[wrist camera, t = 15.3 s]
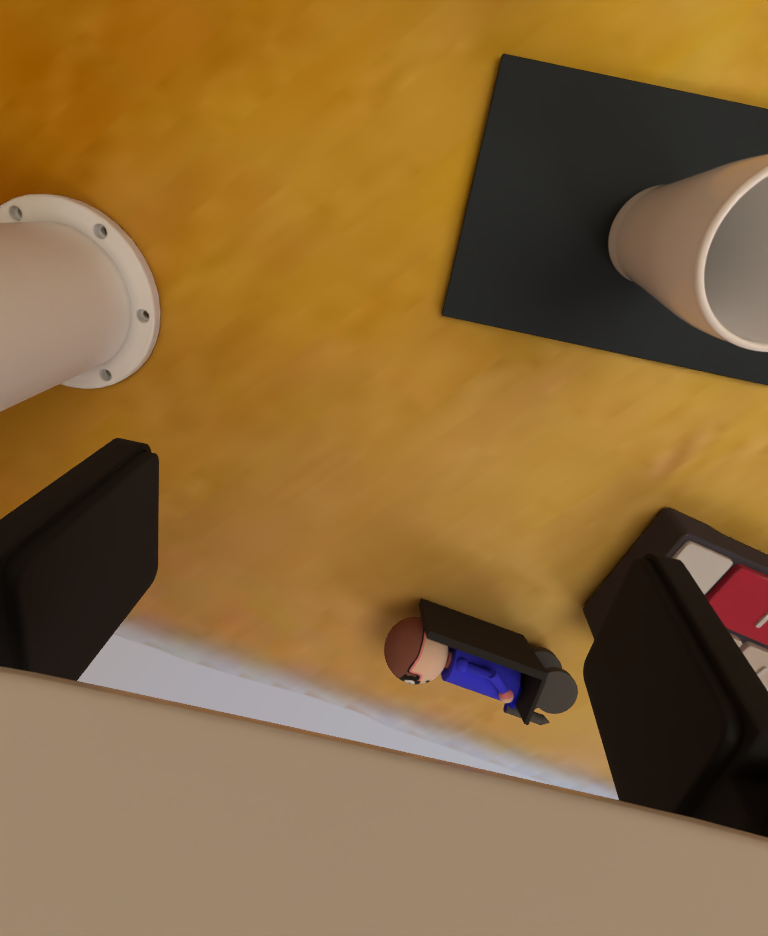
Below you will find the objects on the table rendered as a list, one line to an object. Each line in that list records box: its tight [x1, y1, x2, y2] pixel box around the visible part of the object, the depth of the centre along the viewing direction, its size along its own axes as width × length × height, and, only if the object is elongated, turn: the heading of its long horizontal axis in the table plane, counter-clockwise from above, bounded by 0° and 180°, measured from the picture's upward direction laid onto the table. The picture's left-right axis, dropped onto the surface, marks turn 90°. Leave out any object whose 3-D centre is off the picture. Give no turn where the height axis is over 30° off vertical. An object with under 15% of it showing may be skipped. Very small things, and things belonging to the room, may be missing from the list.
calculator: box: [583, 508, 768, 690], centre depth 42 cm, size 11×4×15 cm
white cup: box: [608, 154, 768, 352], centre depth 26 cm, size 7×7×15 cm
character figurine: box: [384, 598, 578, 725], centre depth 44 cm, size 8×7×15 cm
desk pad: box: [442, 54, 768, 385], centre depth 33 cm, size 22×14×1 cm, turn 79°
